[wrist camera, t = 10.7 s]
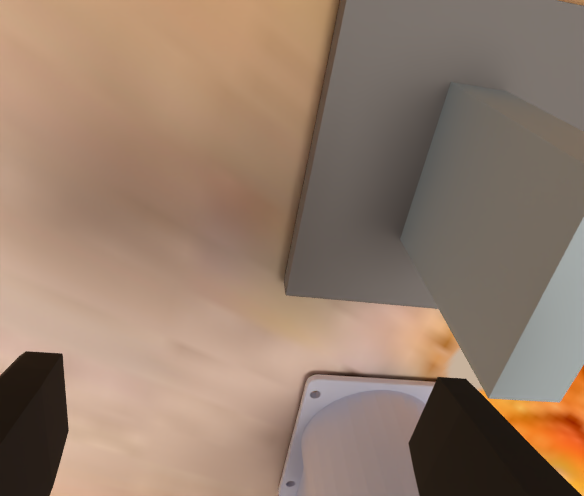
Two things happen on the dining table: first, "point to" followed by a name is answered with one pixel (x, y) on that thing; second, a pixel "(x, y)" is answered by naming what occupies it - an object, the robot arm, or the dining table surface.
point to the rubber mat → (411, 125)
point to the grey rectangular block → (504, 240)
